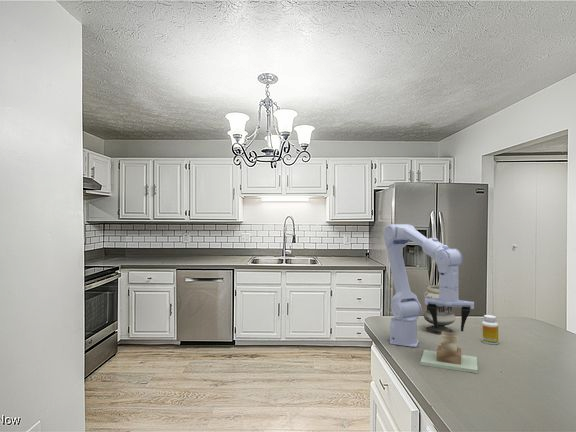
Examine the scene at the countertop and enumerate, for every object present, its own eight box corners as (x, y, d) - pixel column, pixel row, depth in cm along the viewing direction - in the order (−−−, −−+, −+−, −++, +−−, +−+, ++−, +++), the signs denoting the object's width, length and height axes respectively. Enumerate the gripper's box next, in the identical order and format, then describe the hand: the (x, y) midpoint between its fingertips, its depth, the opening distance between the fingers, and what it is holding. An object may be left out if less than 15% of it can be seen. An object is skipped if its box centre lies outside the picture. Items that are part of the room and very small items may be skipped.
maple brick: (441, 350, 121) (440, 335, 121) (441, 346, 125) (441, 331, 125) (456, 353, 119) (456, 336, 119) (456, 348, 123) (456, 333, 123)
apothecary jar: (420, 332, 154) (420, 287, 155) (427, 325, 165) (427, 283, 165) (452, 337, 148) (452, 290, 148) (457, 329, 158) (457, 286, 158)
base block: (436, 361, 120) (436, 351, 120) (438, 354, 126) (438, 345, 126) (461, 364, 117) (460, 354, 117) (461, 357, 123) (461, 347, 123)
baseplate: (420, 364, 120) (420, 361, 120) (424, 352, 130) (424, 349, 130) (477, 373, 113) (477, 370, 113) (476, 359, 124) (476, 356, 124)
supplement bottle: (500, 345, 138) (500, 318, 138) (484, 344, 139) (484, 317, 140) (495, 340, 144) (495, 314, 144) (480, 339, 145) (480, 314, 145)
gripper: (423, 286, 122) (423, 329, 122) (474, 290, 116) (474, 335, 116) (425, 283, 128) (425, 324, 128) (473, 286, 122) (473, 329, 122)
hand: (448, 329), depth 122 cm, fingers open, 7 cm apart
